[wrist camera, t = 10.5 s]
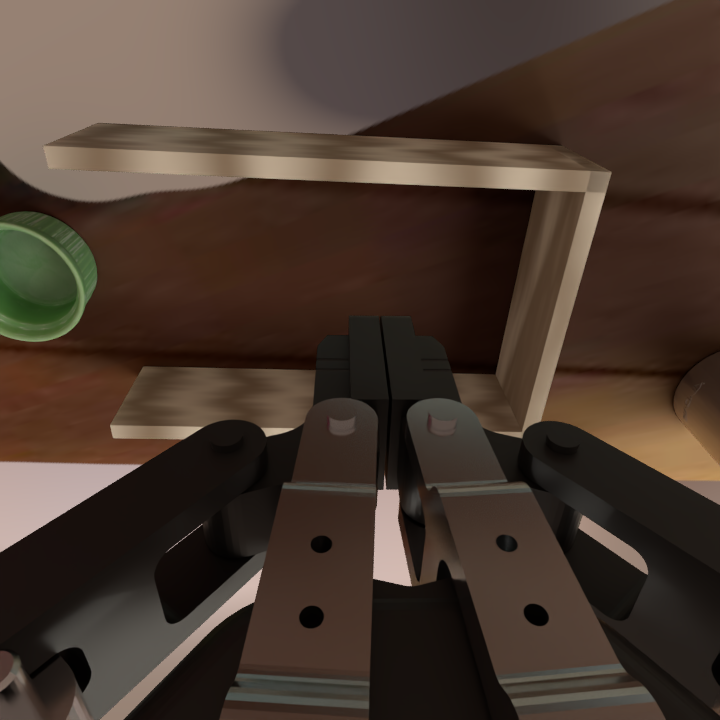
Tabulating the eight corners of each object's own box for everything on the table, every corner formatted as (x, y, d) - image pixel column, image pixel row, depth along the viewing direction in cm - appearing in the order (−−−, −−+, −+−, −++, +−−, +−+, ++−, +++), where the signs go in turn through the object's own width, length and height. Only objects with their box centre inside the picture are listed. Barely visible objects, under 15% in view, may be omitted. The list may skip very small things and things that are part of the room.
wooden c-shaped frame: (562, 145, 38) (611, 171, 31) (506, 385, 49) (533, 444, 42) (98, 122, 36) (43, 145, 29) (145, 378, 47) (113, 438, 40)
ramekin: (55, 334, 44) (30, 363, 41) (-47, 251, 40) (-85, 274, 37) (130, 272, 42) (111, 297, 38) (30, 177, 38) (-3, 193, 34)
